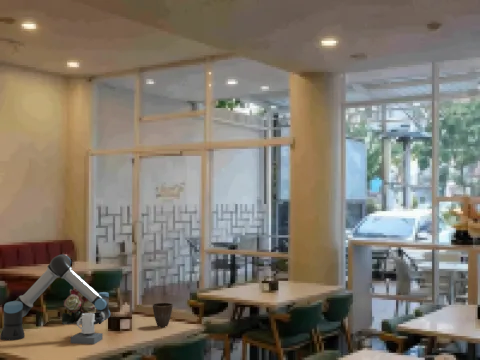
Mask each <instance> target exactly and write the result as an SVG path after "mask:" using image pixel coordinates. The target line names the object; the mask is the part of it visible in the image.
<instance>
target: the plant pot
mask: <svg viewBox="0 0 480 360" xmlns="http://www.w3.org/2000/svg"><path fill="white" fill-rule="evenodd" d="M152 310H153V311H152V312H153V316H154V319H155V323H156V326H157V327H158V328H166V327H165V326H167V327H168V326H169V323H170V320H171V316H172V312H173V303H168V302H158V303H153V304H152Z"/></svg>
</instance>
